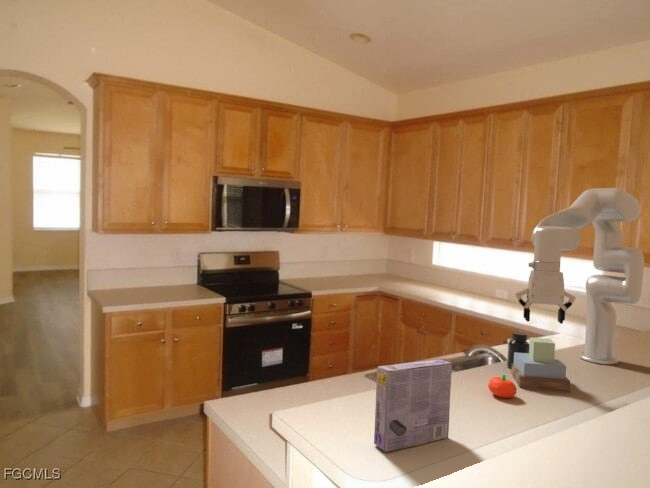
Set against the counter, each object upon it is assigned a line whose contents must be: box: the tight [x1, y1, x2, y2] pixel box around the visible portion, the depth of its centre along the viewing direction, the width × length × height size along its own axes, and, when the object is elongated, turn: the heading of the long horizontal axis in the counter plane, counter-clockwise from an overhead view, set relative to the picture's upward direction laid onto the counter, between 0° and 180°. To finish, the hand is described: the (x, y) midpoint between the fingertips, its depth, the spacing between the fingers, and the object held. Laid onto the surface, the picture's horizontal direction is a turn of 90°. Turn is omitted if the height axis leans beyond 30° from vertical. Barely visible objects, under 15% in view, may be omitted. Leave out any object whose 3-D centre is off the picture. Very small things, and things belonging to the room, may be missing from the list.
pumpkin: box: [487, 374, 517, 399], centre depth 140 cm, size 7×8×6 cm
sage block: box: [529, 336, 556, 363], centre depth 152 cm, size 6×6×6 cm
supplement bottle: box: [506, 331, 530, 369], centre depth 167 cm, size 7×7×12 cm
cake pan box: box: [373, 359, 453, 454], centre depth 109 cm, size 19×5×18 cm, turn 118°
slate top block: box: [514, 352, 567, 379], centre depth 152 cm, size 12×12×4 cm
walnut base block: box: [510, 363, 571, 393], centre depth 152 cm, size 14×14×4 cm
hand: (543, 321), depth 152 cm, fingers open, 9 cm apart
